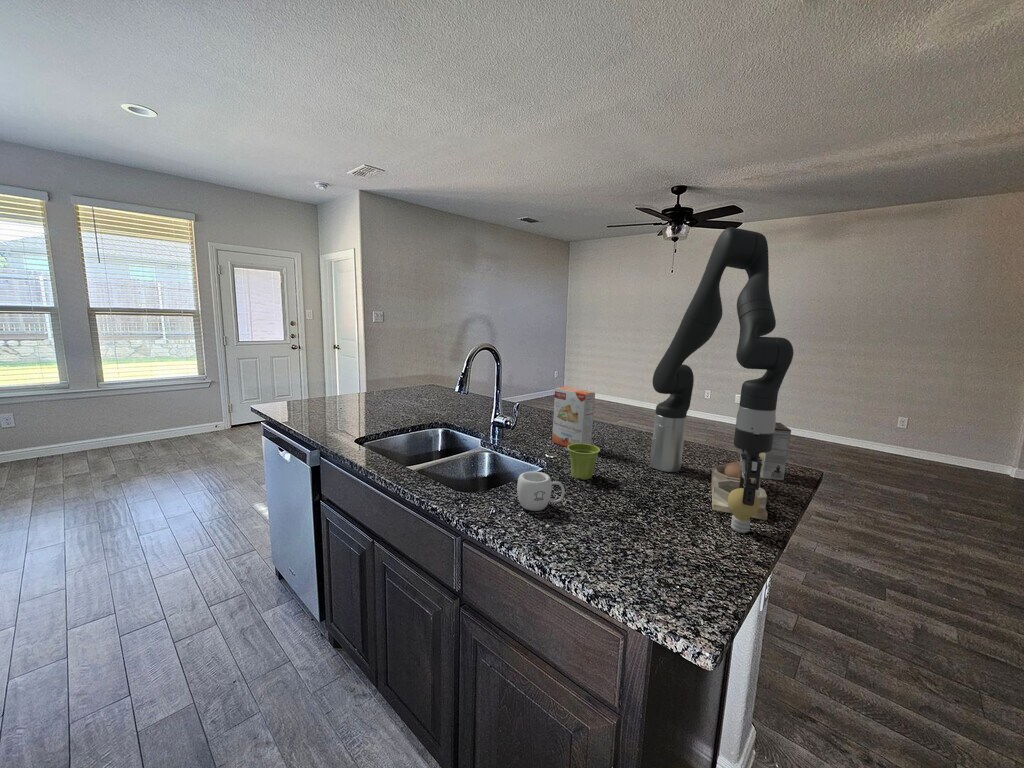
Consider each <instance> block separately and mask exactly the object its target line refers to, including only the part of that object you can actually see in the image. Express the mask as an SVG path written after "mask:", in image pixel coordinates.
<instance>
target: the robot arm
mask: <svg viewBox="0 0 1024 768" xmlns="http://www.w3.org/2000/svg"><path fill="white" fill-rule="evenodd" d="M709 256H710V257H708V258H709V259H708V261H707V264H706V266H705V269H704V272H703V274H702V277H701V280H700V282H699V284H698V286H697V289H696V291H695V293H694V294H693V297H692V299H691V301H690V303H689V304H688V306H687V308H686V311H685V312H684V315H683V317H682V319H681V321H680V323H679V326H678V328H677V331H676V332H675V334H674V336H673V339H672V340H671V342H670V344H669V345H668V348H667V350H666V351H665V353H664V354H663V357H661V359H660V360H659V363H658V364H657V366H656V368H655V370H654V373H653V375H652V387H653V389H654V391H655V392H657V393H659V394H662V395H669V396H668V397H667V398H666V400H664V401H662V402H659V403H658V404H656V407H655V411H654V413H655V414H654V424H653V425H654V426H653V434H652V439H651V445H650V456H649V458H650V459H649V466H648V467H649V468H652V469H655V470H658V471H662V472H667V473H675V472H680V471H681V469H682V468H681V467H682V460H683V459H682V458H683V450H684V440H685V432H686V424H687V423H686V421H687V414H688V411H689V409H690V407H691V403H692V401H691V400H692V396H693V390H694V382H695V381H694V380H695V379H694V378H695V377H694V372H693V370H692V368H691V367H690V366H689V365H687V364H684V362H685V361H686V359H688V358H689V357H690V356H691V355H692V354H694V353H695V352H696V351H698V350H699V349H700V348H701V347H703V346H704V345H705V344H707V342H708V341H709V340H710V339H711V338H712V337H713V336H714V333H715V331H716V329H717V328H718V326H719V324H720V323H721V320H722V318H723V303H722V298H721V291H720V289H721V288H720V284H721V281H722V280H721V279H722V276H723V274H724V272H725V270H726V268H733V269H738V270H745V272H746V274H747V277H748V279H747V282H746V283H745V285H744V286H743V288H742V290H741V291H740V292H739V294H738V297H737V300H736V310H737V311H736V313H737V317H738V323H739V337H738V343H737V348H736V354H735V356H736V361H737V363H738V364H739V365H740V366H741V367H742V368H744V369H747V370H763V371H765V373H764V374H763V375H762V376H761V377H759V378H755V379H754V378H753V379H749V380H748V379H747V380H745V381H743V383H742V384H741V387H740V388H741V389H740V397H739V406H738V409H737V414H736V421H735V428H734V436H733V445H734V446H735V448H737V449H738V450H741V453H740V455H739V463H740V466H739V468H740V469H741V470H740V474H742V475H741V476H740V484H739V488H744V491H743V499H742V503H743V504H744V505H750V506H753V505H754V500H755V492H756V490H758V488H759V480H760V478H761V476H760V472H761V466H762V460H761V459H760V456H759V454H760V453H768V452H770V451H771V450H772V445H773V438H774V430H775V423H777V422H776V421H777V420H776V419H777V418H776V417H777V416H776V412H777V411H776V410H777V403H778V395H779V391H780V388H781V386H782V383H783V381H784V379H785V376H786V374H787V373H788V370H789V368H790V366H791V364H792V361H793V358H794V347H793V345H792V343H791V341H790V340H788V339H787V338H785V337H777V336H766V335H769V334H770V333H772V332H773V331H774V329H776V325H777V321H776V315H775V311H774V308H773V303H772V300H771V299H772V298H771V295H770V286H769V285H770V277H769V276H770V273H769V271H770V270H769V269H770V265H769V262H770V261H769V259H770V258H769V245H768V240H767V237H766V236H765V234H763V233H760V232H758V231H753V230H749V229H745V228H744V229H743V228H738V227H730V226H729V227H726V228H725V229H724V230H722V232H721V233H720V234H719V236H718V238H717V239H716V241H715V243H714V246H713V248H712V251H711V253H710V255H709ZM751 479H753V480H754V483H751Z"/></svg>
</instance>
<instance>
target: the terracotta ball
mask: <svg viewBox="0 0 1024 768" xmlns="http://www.w3.org/2000/svg"><path fill="white" fill-rule="evenodd" d="M726 465H727V466H726V468H725V475H726V476H728V477H733V478H739V479H740V476H741V475H742V474H740V470H741V469H740V468H739V466H740V461H731V462H729V463H728V464H726Z"/></svg>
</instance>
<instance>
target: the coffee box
mask: <svg viewBox="0 0 1024 768" xmlns="http://www.w3.org/2000/svg"><path fill="white" fill-rule="evenodd" d="M791 434H792V430H791V429H790V428H789V427H787V426H786V425H785V424H783V423H782V422H776V423H775V430H774V438H773V445H772V450H771V451H770V452H768V453H760V454H759V456H760V459H761V460H762V466H761V472H760V478H761V479H767V480H777V481H784V478H785V471H786V465H787V461H788V460H787V458H788V454H789V447H790V440H791Z"/></svg>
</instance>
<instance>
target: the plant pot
mask: <svg viewBox="0 0 1024 768" xmlns="http://www.w3.org/2000/svg"><path fill="white" fill-rule="evenodd" d="M566 448H567V451H568V454H569V458H570V473H571V477H572V478H574V479H580V480H583V481H584V480H590V479H591V478H592V477H593V476H594V475H593V474H594V470H595V467H596V466H595V465H596V460H597V457H598V455H599V453H600V451H601V449H600V447H598V446H597V445H593V444H591V445H590V444H579V443H578V444H571V445H569V446H568V447H566Z"/></svg>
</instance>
